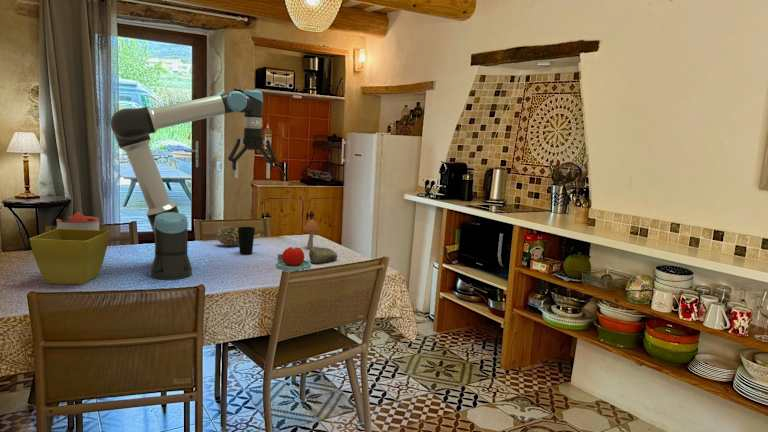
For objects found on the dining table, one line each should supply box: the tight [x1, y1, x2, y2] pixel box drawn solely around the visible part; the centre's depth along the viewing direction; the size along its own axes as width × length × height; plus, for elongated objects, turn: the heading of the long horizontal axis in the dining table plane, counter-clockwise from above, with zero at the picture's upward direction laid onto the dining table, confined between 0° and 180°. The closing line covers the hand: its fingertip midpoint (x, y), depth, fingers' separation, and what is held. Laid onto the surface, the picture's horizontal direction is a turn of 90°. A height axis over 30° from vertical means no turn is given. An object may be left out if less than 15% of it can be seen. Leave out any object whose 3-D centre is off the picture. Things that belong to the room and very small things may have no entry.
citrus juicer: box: [55, 211, 101, 230], centre depth 218 cm, size 16×17×20 cm
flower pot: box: [29, 228, 110, 285], centre depth 190 cm, size 19×19×17 cm
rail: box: [277, 253, 283, 261], centre depth 235 cm, size 9×1×4 cm, turn 119°
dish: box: [275, 259, 312, 271], centre depth 227 cm, size 14×14×2 cm
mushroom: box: [303, 219, 320, 250], centre depth 262 cm, size 8×8×15 cm
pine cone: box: [215, 225, 261, 247], centre depth 261 cm, size 22×10×10 cm, turn 120°
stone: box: [308, 247, 338, 265], centre depth 239 cm, size 9×14×10 cm, turn 140°
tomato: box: [281, 246, 305, 267], centre depth 226 cm, size 9×9×8 cm
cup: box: [237, 226, 256, 256], centre depth 245 cm, size 8×8×12 cm
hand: (252, 178), depth 226 cm, fingers open, 13 cm apart
